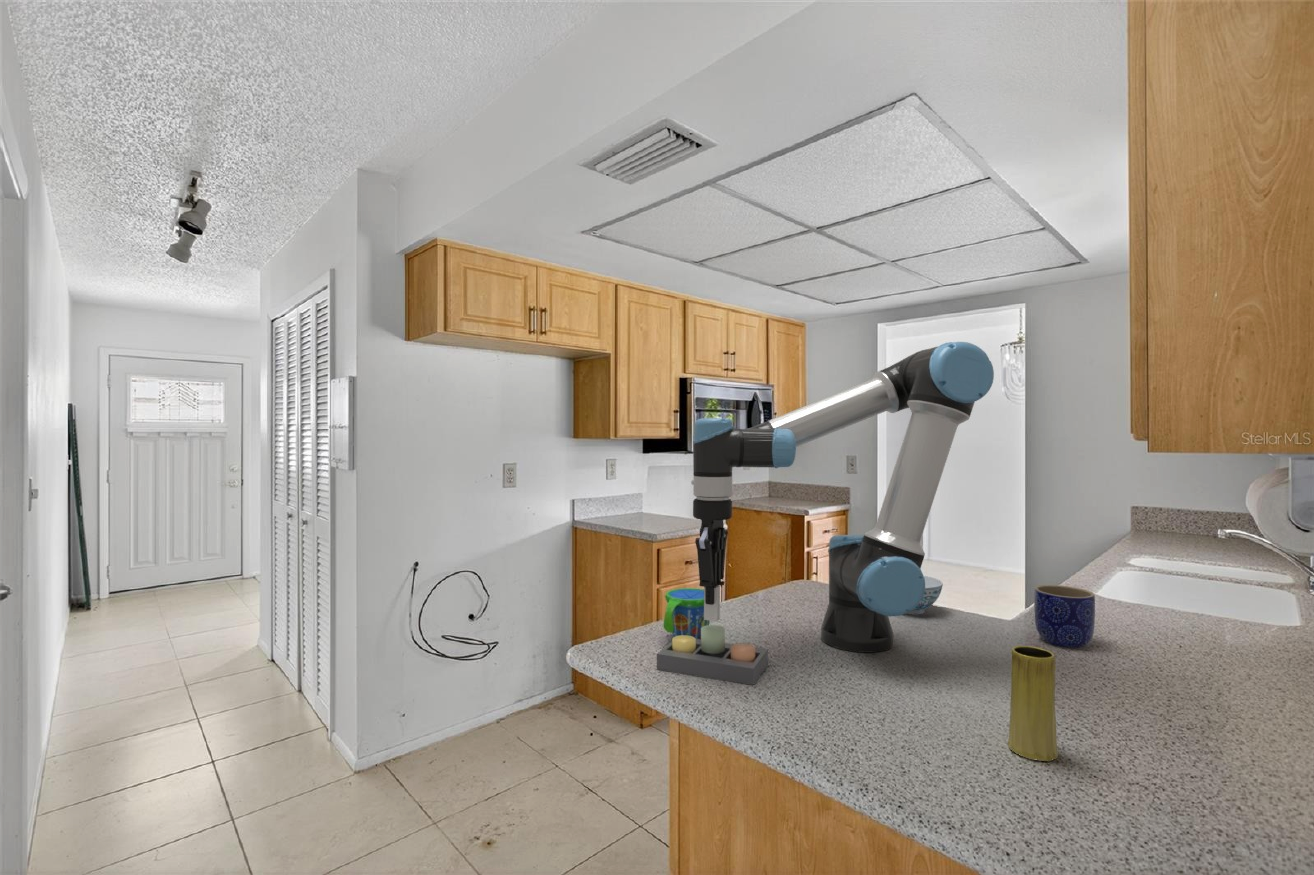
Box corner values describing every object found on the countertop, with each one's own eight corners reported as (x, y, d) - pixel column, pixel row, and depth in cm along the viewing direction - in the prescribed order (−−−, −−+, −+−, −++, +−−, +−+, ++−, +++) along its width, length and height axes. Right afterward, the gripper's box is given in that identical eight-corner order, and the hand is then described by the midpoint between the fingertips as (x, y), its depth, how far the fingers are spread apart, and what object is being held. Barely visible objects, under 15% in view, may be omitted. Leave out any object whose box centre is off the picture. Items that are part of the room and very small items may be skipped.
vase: (1066, 754, 88) (1066, 653, 88) (1044, 767, 85) (1044, 662, 85) (1021, 736, 93) (1021, 641, 93) (999, 748, 90) (999, 649, 90)
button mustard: (698, 656, 125) (698, 637, 125) (690, 664, 121) (690, 644, 121) (677, 653, 127) (677, 634, 127) (668, 661, 123) (668, 641, 123)
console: (768, 664, 123) (768, 648, 123) (753, 685, 113) (753, 668, 113) (677, 650, 130) (677, 636, 130) (656, 669, 120) (656, 653, 120)
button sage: (727, 647, 123) (727, 626, 123) (720, 654, 118) (720, 633, 118) (705, 644, 124) (705, 624, 124) (697, 651, 120) (697, 630, 120)
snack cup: (696, 626, 147) (696, 583, 146) (731, 637, 139) (731, 591, 139) (647, 642, 136) (647, 595, 136) (682, 654, 128) (682, 605, 128)
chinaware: (872, 601, 167) (872, 572, 167) (931, 603, 165) (931, 574, 165) (887, 618, 152) (887, 586, 152) (951, 620, 151) (951, 588, 150)
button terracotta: (757, 665, 120) (757, 645, 120) (751, 674, 116) (751, 652, 116) (734, 662, 122) (734, 641, 122) (727, 670, 118) (727, 649, 118)
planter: (1101, 654, 127) (1101, 599, 127) (1039, 647, 131) (1039, 594, 131) (1087, 637, 138) (1087, 587, 137) (1030, 632, 142) (1030, 583, 141)
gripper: (705, 494, 129) (704, 608, 129) (682, 500, 117) (681, 626, 117) (740, 495, 126) (739, 613, 126) (720, 502, 114) (720, 632, 114)
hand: (711, 619), depth 121 cm, fingers closed
